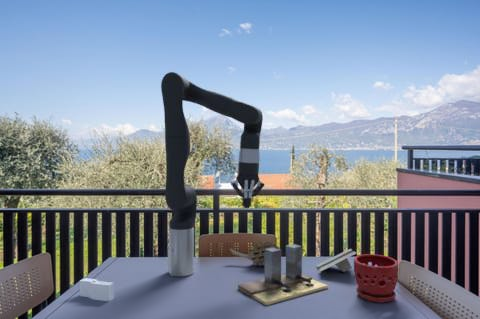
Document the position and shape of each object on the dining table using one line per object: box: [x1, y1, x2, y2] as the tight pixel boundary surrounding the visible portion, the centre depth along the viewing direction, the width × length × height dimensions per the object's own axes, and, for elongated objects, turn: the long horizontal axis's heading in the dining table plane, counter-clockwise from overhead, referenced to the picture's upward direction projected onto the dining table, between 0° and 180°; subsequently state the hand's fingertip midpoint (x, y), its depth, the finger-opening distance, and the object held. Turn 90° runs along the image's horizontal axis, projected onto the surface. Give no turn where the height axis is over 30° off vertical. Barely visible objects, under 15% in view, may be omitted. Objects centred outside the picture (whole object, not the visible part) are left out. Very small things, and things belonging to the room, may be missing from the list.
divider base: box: [237, 243, 313, 298], centre depth 119 cm, size 26×12×12 cm, turn 123°
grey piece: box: [316, 248, 357, 273], centre depth 135 cm, size 16×9×15 cm
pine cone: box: [229, 240, 282, 267], centre depth 144 cm, size 22×10×10 cm, turn 80°
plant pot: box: [353, 253, 399, 303], centre depth 111 cm, size 13×13×12 cm
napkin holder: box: [79, 277, 115, 302], centre depth 111 cm, size 15×11×6 cm
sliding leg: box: [264, 248, 290, 289], centre depth 117 cm, size 4×10×11 cm, turn 33°
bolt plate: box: [252, 278, 329, 307], centre depth 114 cm, size 26×7×1 cm, turn 123°
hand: (246, 207), depth 130 cm, fingers closed
